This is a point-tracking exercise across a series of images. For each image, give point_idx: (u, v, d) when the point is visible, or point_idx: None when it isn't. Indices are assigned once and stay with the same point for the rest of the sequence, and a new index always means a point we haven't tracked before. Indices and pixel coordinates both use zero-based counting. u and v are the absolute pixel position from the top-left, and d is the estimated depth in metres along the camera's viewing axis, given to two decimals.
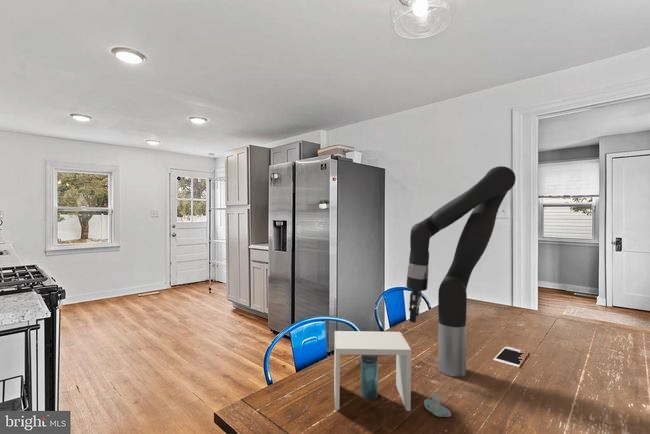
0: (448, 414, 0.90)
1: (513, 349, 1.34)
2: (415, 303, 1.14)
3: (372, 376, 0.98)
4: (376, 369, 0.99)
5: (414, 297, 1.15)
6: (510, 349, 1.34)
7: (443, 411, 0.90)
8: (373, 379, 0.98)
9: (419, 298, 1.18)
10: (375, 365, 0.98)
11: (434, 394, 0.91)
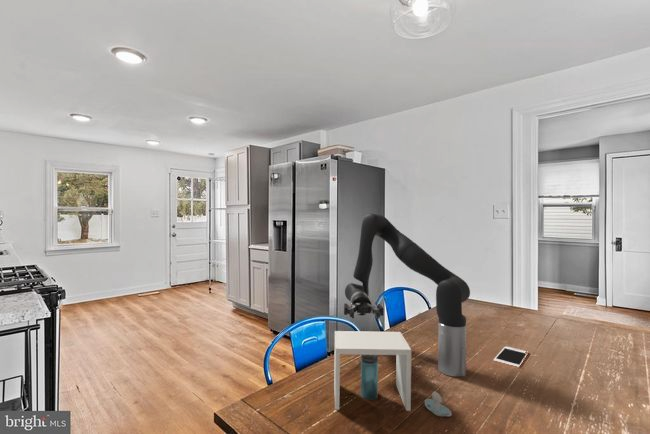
0: (449, 414, 0.90)
1: (513, 349, 1.34)
2: (344, 306, 1.19)
3: (372, 376, 0.98)
4: (376, 369, 0.99)
5: None
6: (510, 349, 1.34)
7: (444, 411, 0.91)
8: (373, 379, 0.98)
9: (356, 304, 1.20)
10: (375, 365, 0.98)
11: (435, 394, 0.91)
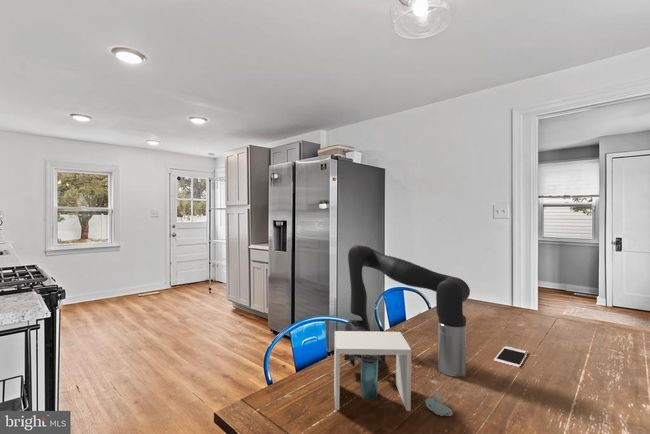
0: (449, 413, 0.90)
1: (513, 349, 1.34)
2: None
3: (372, 376, 0.98)
4: (376, 369, 0.99)
5: None
6: (510, 349, 1.34)
7: (445, 410, 0.91)
8: (373, 379, 0.98)
9: None
10: (375, 365, 0.98)
11: (436, 393, 0.91)
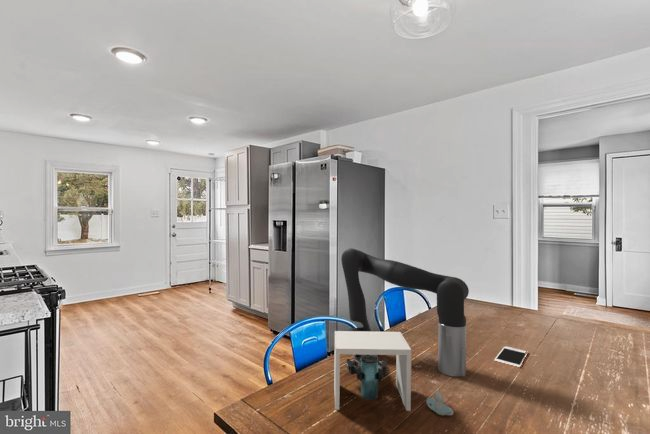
0: (450, 413, 0.90)
1: (512, 349, 1.34)
2: (348, 364, 1.05)
3: (372, 376, 0.98)
4: (376, 369, 0.99)
5: (346, 363, 1.07)
6: (509, 349, 1.34)
7: (445, 410, 0.91)
8: (373, 379, 0.98)
9: (360, 359, 1.07)
10: (375, 365, 0.98)
11: (437, 393, 0.91)
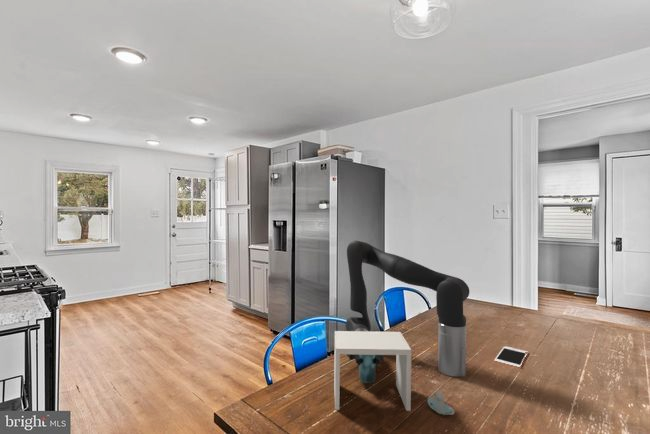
0: (451, 412, 0.91)
1: (512, 349, 1.35)
2: None
3: (370, 361, 1.03)
4: None
5: None
6: (509, 349, 1.34)
7: (446, 409, 0.91)
8: (370, 363, 1.03)
9: None
10: None
11: (437, 392, 0.92)
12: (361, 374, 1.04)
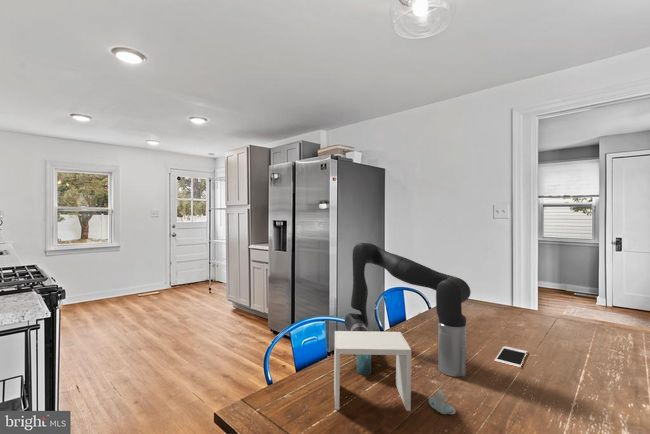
0: (453, 411, 0.91)
1: (512, 349, 1.35)
2: None
3: (366, 355, 1.13)
4: None
5: None
6: (509, 349, 1.34)
7: (448, 408, 0.92)
8: (367, 357, 1.13)
9: None
10: None
11: (439, 392, 0.92)
12: (358, 367, 1.14)
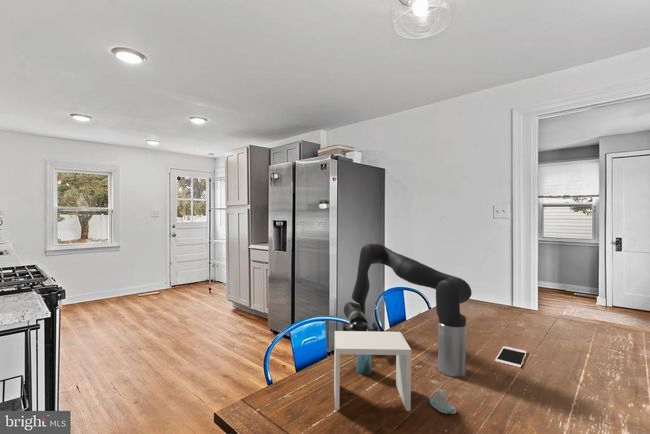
0: (454, 411, 0.91)
1: (511, 349, 1.35)
2: None
3: (366, 355, 1.13)
4: None
5: None
6: (509, 349, 1.34)
7: (449, 408, 0.92)
8: (367, 357, 1.13)
9: (353, 323, 1.35)
10: None
11: (440, 391, 0.92)
12: (358, 367, 1.14)
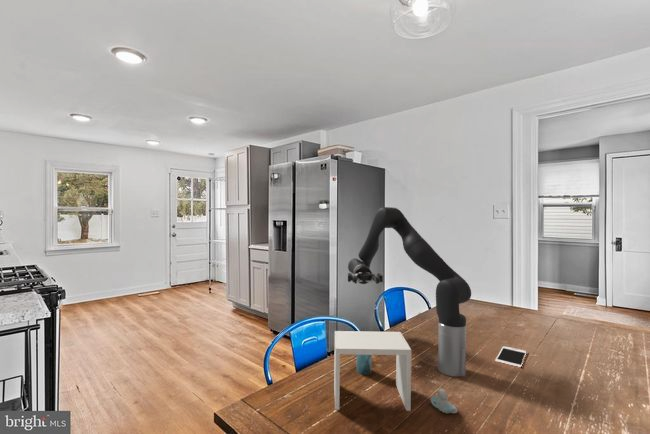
0: (454, 410, 0.91)
1: (511, 349, 1.35)
2: None
3: (366, 355, 1.13)
4: None
5: None
6: (508, 349, 1.35)
7: (450, 407, 0.92)
8: (367, 357, 1.13)
9: (358, 273, 1.35)
10: None
11: (441, 391, 0.92)
12: (358, 367, 1.14)
